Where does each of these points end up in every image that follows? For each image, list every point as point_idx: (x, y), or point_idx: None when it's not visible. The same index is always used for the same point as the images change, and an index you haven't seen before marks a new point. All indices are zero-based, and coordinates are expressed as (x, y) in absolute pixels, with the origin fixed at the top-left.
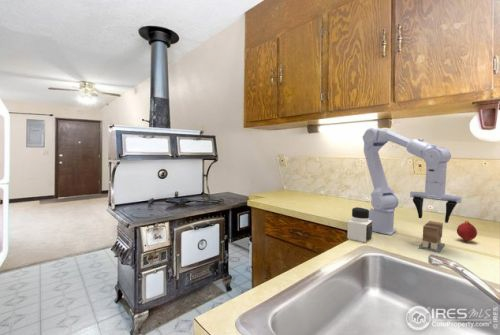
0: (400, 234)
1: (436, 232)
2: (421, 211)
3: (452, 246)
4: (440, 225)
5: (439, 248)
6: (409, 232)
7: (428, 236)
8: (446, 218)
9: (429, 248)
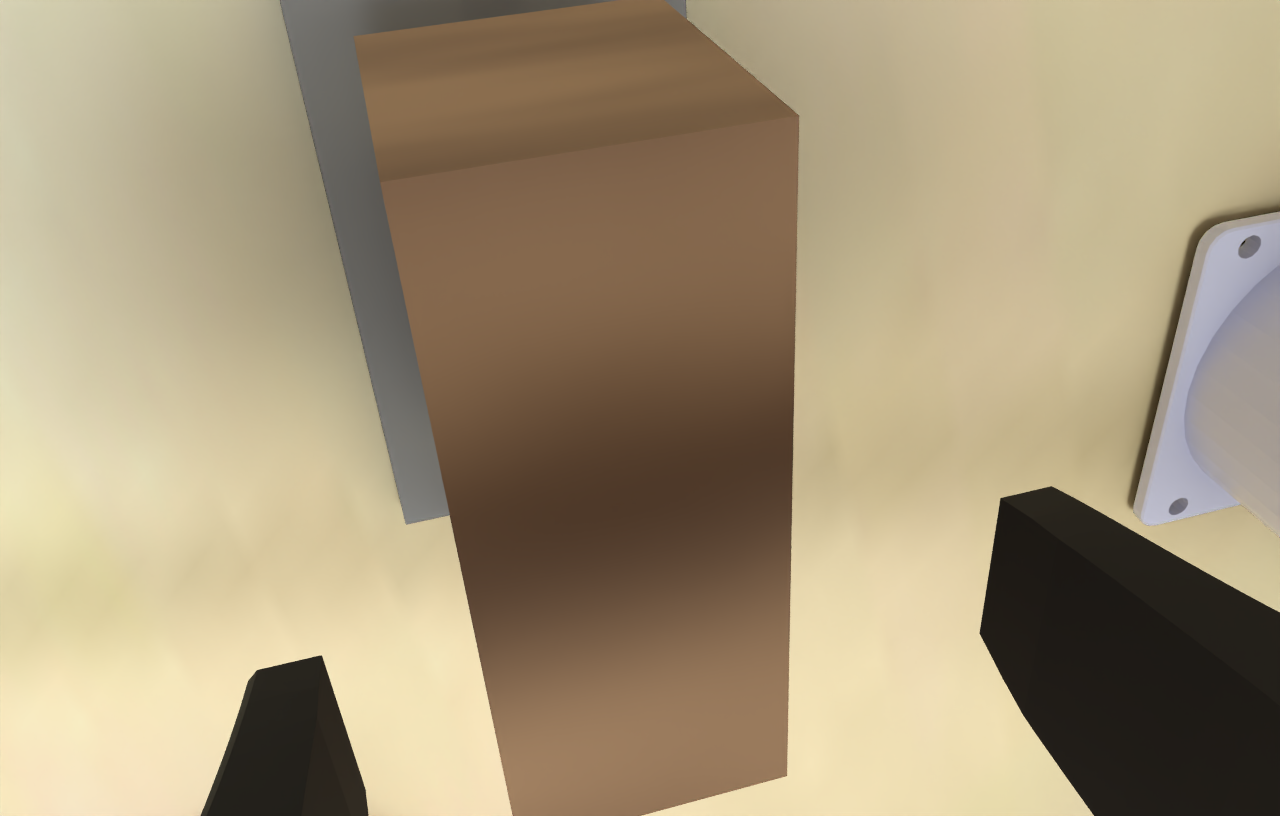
0: (1060, 418)
1: (390, 132)
2: (1128, 733)
3: (299, 556)
4: (478, 634)
5: (354, 185)
6: (960, 611)
7: (564, 49)
8: (263, 775)
9: (482, 2)
